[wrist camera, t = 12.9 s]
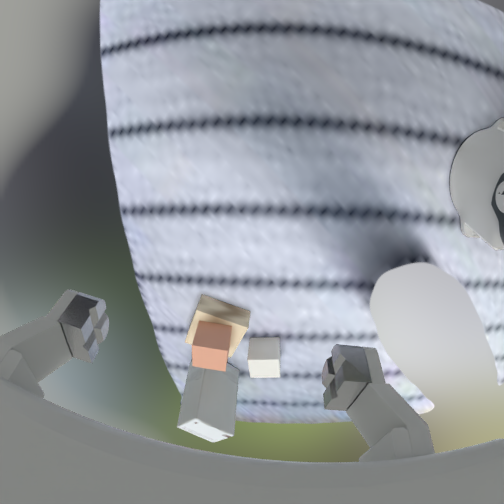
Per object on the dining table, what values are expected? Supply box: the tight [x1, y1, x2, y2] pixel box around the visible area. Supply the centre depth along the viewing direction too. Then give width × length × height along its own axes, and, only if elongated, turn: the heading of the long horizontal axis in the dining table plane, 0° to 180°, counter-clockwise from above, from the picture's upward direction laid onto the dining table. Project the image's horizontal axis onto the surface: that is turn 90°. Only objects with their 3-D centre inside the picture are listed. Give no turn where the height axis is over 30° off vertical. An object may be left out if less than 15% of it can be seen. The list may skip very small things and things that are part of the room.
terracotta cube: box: [192, 321, 232, 372], centre depth 44 cm, size 5×5×5 cm
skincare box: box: [177, 361, 239, 442], centre depth 50 cm, size 8×6×15 cm
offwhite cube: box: [247, 337, 281, 378], centre depth 50 cm, size 5×5×5 cm
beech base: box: [185, 294, 250, 358], centre depth 48 cm, size 8×8×4 cm
